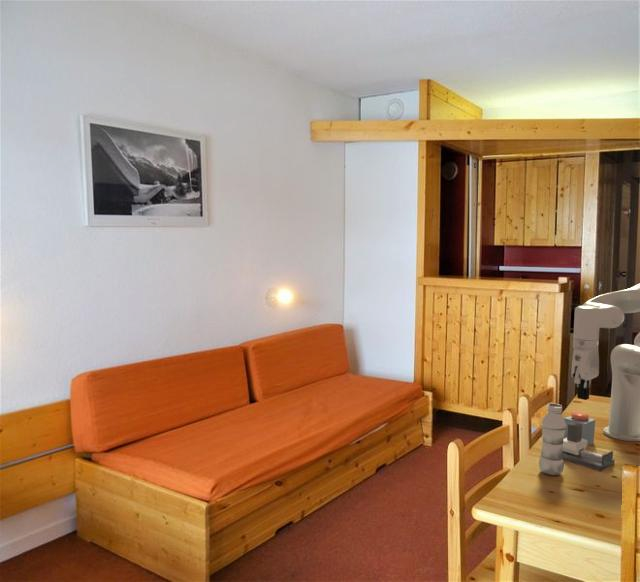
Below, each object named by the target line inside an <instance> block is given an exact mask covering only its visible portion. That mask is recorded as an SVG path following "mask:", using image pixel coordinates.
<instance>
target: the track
mask: <svg viewBox="0 0 640 582" xmlns="http://www.w3.org/2000/svg"><path fill="white" fill-rule="evenodd" d="M615 460H616V459H615V458H614V450H609V451H608V452H607V451H606V452H605V453H603V454H601V453H597V452H595V451H591V450H588V449H585V450H584V449H580V450H579V455H574V454H571V453H568V452H565V451H563V461H567V462H571V463H573V462H574V464H577V465H580V466H583V467H586V468H589V469H592V470H595V471H597V472H602V471H604V470H606V469H609V468H610V467H613V465H615Z"/></svg>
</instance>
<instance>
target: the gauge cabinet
mask: <svg viewBox="0 0 640 582" xmlns="http://www.w3.org/2000/svg"><path fill="white" fill-rule="evenodd" d="M563 418H564V420H565V423H566V429H565V434H564V439H565V438H567V434H568V424H570V423H572V422H574V423H578V424H581V425H582V439H585V440H588V441H587V447H588V446H591V445H593V444H594V441H595V440H594V439H595V429H596V428H595V427H596V419H594V418H590V417H589V419H588V420H586V421H584V422H582V421H578V420H574V418H572V417H571V415H569V416H566V417H563Z"/></svg>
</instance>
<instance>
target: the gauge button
mask: <svg viewBox="0 0 640 582" xmlns="http://www.w3.org/2000/svg"><path fill="white" fill-rule="evenodd" d="M570 416H571V417H572V418H574V420H578V421H582V422H584V421H586V420H588V419H589V418H590V417H589V414H588V413H585V412H577V411H573V412H571V415H570Z"/></svg>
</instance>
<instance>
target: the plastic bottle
mask: <svg viewBox="0 0 640 582" xmlns="http://www.w3.org/2000/svg"><path fill="white" fill-rule="evenodd" d="M546 411H547V414H545V415H544V416H543V418H542V419H541V424H540V425H541V434H542V436H541V439H542V441H541V442H542V445H541V451H540V457H539V460H538V467H539V469H540V471H541V472H542V474H543V473H544V474H546V475H549V476H560V475H561V474H562V473H563V472H564V469H565V463H564V462H565V461H564V459H563V439H564V434H565V429H566V423H565V420H564V418H565V417H563V416H562V413H563V406H562V404H558V403H548V404H547V410H546Z"/></svg>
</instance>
